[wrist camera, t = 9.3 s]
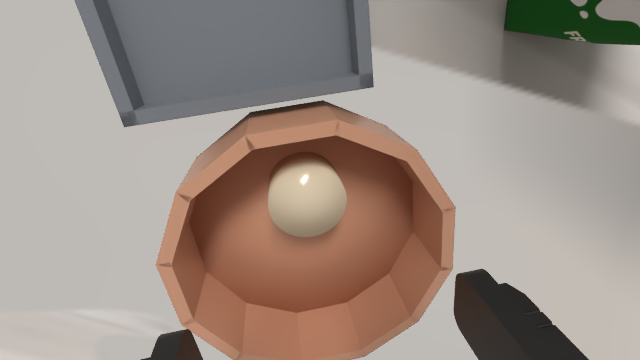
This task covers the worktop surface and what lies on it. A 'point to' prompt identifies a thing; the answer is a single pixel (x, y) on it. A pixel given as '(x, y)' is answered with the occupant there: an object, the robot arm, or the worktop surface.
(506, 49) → the worktop surface
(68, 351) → the worktop surface
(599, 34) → the milk carton
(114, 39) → the tray
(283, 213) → the sandstone pebble
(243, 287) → the bowl
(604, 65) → the worktop surface
